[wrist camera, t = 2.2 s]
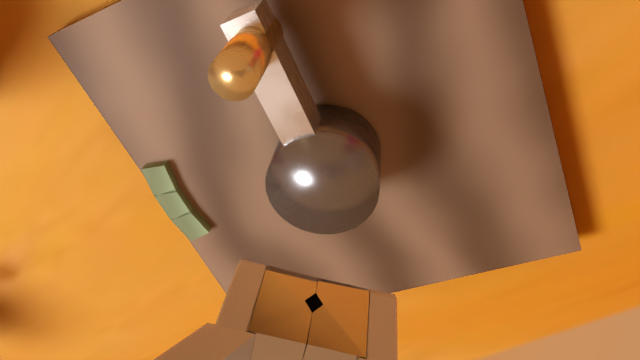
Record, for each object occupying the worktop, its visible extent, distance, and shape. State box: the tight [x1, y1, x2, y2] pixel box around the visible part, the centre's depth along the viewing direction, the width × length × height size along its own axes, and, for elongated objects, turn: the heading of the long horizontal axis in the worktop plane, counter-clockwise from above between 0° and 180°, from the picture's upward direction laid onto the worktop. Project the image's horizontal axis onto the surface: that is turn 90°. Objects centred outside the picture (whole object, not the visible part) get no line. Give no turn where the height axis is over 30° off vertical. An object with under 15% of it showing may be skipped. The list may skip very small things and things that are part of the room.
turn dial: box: [208, 0, 381, 234], centre depth 26 cm, size 12×6×7 cm, turn 24°
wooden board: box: [48, 0, 581, 294], centre depth 31 cm, size 24×24×2 cm
